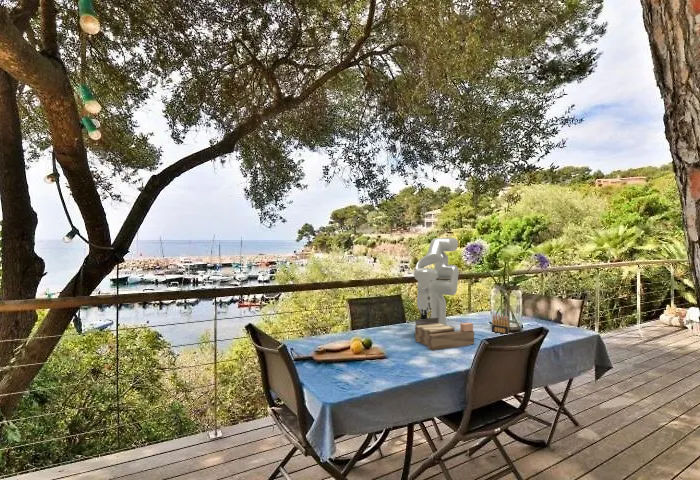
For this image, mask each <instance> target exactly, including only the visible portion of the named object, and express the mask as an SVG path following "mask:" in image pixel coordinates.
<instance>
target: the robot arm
mask: <svg viewBox="0 0 700 480" xmlns="http://www.w3.org/2000/svg"><path fill="white" fill-rule="evenodd" d="M429 243H430V244H429V247H428V250H427V252H426V253H427V254H425V255H424V256H423V257H422V258H420V259H419V260H418V261H417V263H416V264H415V267H414V272H413V276H414V279H415V280H416V281H417V297H416V298H417V299H416V307H417V308H418V311H419V312H420V319H428V314H429V313H430V312H431V313H430V316H431V317H430V318H438V323H441V324H444V325H447V300H446V298H445V297H444V296H445V295H446V296H455V295H456V293H457V290H458V283H459V268H458V266H457V265H455V264H449V256H448V255H447V253H446V252H454V251H456V250H458V247H459V241H458V240H457V238H455V237H437V238H433V239H431V241H430V242H429ZM431 265H434V268H429V267H427V266H431ZM425 267H427V268H425ZM447 326H449V325H447Z"/></svg>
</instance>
